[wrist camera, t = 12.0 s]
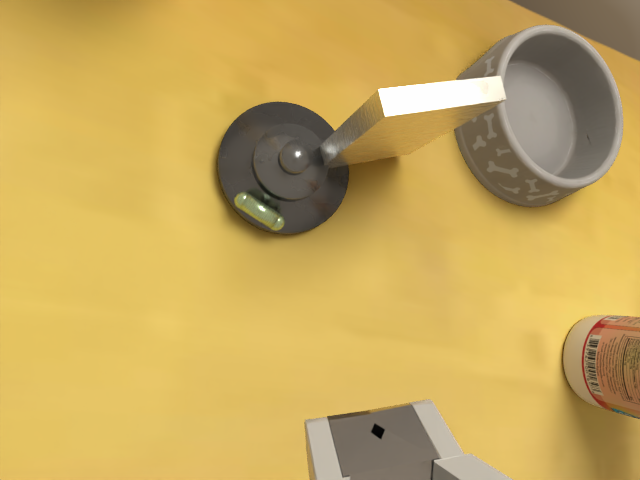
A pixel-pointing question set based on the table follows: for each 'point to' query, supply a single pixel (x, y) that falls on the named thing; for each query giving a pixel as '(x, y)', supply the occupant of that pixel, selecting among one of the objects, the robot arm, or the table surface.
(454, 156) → the table surface
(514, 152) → the dog bowl
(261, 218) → the base
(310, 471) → the robot arm
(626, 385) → the white plastic bottle
